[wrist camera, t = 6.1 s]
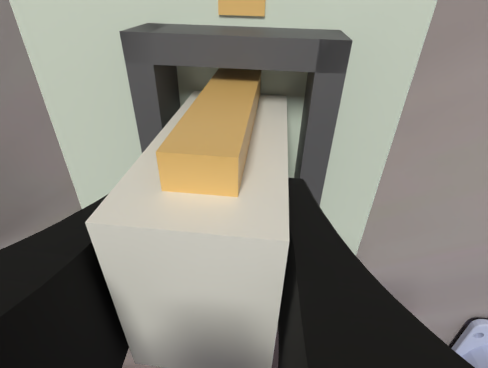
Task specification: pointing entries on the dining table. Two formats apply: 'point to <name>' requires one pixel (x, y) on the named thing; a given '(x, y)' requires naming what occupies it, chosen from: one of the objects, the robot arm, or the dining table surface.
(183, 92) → the board
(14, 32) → the dining table surface
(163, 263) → the plug
